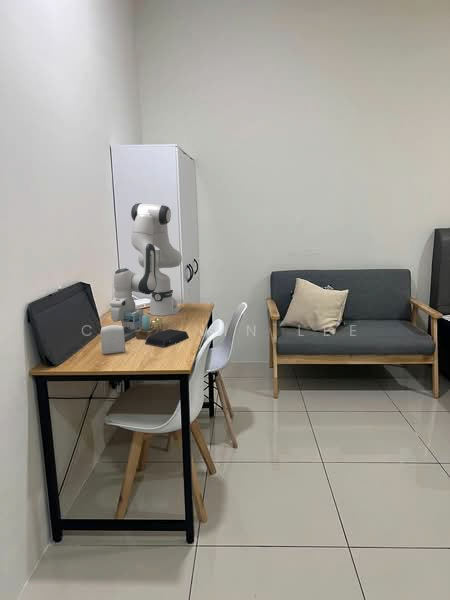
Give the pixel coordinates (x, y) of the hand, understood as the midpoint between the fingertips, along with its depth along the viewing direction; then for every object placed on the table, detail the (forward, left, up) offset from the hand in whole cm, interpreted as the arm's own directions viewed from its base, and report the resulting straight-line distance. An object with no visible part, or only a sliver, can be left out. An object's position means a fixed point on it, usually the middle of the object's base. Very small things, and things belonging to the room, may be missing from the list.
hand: (125, 326), depth 240 cm
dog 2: (-3, +18, -3) cm, 18 cm away
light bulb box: (-2, +4, -3) cm, 5 cm away
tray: (+12, +6, -3) cm, 13 cm away
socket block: (+9, +17, -3) cm, 19 cm away
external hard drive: (+13, +29, -3) cm, 32 cm away
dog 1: (+2, +18, -3) cm, 18 cm away
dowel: (+9, +17, -3) cm, 19 cm away
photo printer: (+35, +13, -3) cm, 37 cm away
